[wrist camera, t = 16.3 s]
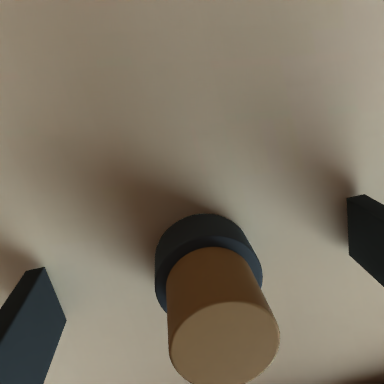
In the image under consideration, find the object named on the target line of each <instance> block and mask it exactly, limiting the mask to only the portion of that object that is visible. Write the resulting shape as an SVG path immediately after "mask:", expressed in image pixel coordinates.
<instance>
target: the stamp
mask: <svg viewBox="0 0 384 384" xmlns="http://www.w3.org/2000/svg"><path fill="white" fill-rule="evenodd" d="M262 278H263V276H262V268H261V265H260V262H259V260H258V258H257V256H256V254H255V253H254V251H253V249H252V247H251V245H250V244H249V242H248V240H247V238H246V236H245V235H244V233H243V231H242V230H241V229H240V228H239V227H238V226H237V225H236V224H235V223H234V222H232V221H231V220H229V219H227V218H225V217H222V216H219V215H215V214H196V215H192V216H188V217H186V218H183V219H181V220H179V221H178V222H176V223H174V224H173V225H172V226H171V227H170V228H168V229H167V230H166V232H165V233H164V234H163V235H162V237H161V239H160V240H159V243H158V245H157V248H156V253H155V292H156V296H157V299H158V302H159V303H160V305H161V307H162V308H163V310H164V311H165V312H166V313H167V322H168V345H169V356H170V360H171V362H172V364H173V366H174V368H175V369H176V371H177V372H178V373H179V374H180V375H181V376H182V377H183V378H184V379H186V380H187V381H189V382H190V383H192V384H245V383H247V382H249V381H251V380H253V379H255V378H256V377H258V376H259V375H260V374H262V373H263V372H264V371H265V370H266V369H267V368H268V367H269V366H270V364H271V363H272V362H273V360H274V358H275V357H276V354H277V352H278V349H279V344H280V331H279V327H278V324H277V322H276V319H275V317H274V315H273V313H272V311H271V309H270V307H269V305H268V303H267V301H266V299H265V297H264V295H263V293H262V291H261V286H262Z"/></svg>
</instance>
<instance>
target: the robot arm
mask: <svg viewBox="0 0 384 384" xmlns="http://www.w3.org/2000/svg"><path fill="white" fill-rule="evenodd" d="M347 216H348V242H349V255H350V256H351V257H352V258H353V259H354V260H355V261H356V262H357V263H359V264H360V265H361V266H362V267H363V268H364V269H365V270H366V271H367V272H368V273H369V274H370V275H372V276H373V277H374V278H375V279H376V280H377V281H378V282H379V283H380V284H381V285H382V286H383V287H384V205H383V204H381V203H379V202H377V201H376V200H374V199H372V198H370V197H368V196H367V195H365V194H363V195H359V196H354V197H350V198H347ZM66 321H67V320H66V318H65V315H64V313H63V311H62V308H61V306H60V303H59V301H58V298H57V296H56V293H55V291H54V289H53V286H52V284H51V281H50V279H49V276H48V274H47V272H46V269H45V267H42V268H37V269H33V270H29V271H26V272H25V273H24V275H23V276H22V278H21V279H20V281H19V282H18V284H17V285H16V287H15V288H14V289H13V291H12V292H11V294H10V295H9V297H8V298H7V300H6V301H5V303H4V304H3V306H2V307H1V309H0V384H43V383H44V380H45V378H46V375H47V372H48V369H49V367H50V364H51V361H52V359H53V356H54V353H55V350H56V348H57V345H58V342H59V340H60V337H61V334H62V331H63V329H64V326H65V323H66Z"/></svg>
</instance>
